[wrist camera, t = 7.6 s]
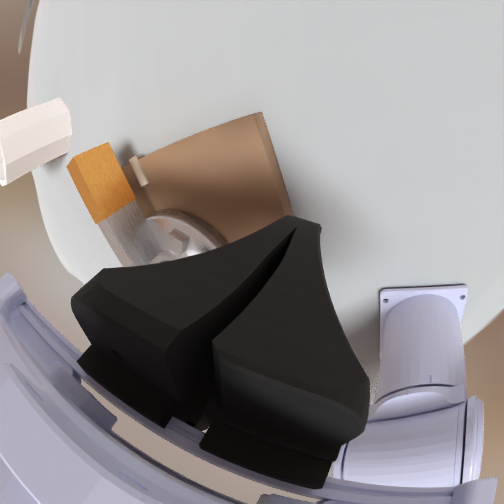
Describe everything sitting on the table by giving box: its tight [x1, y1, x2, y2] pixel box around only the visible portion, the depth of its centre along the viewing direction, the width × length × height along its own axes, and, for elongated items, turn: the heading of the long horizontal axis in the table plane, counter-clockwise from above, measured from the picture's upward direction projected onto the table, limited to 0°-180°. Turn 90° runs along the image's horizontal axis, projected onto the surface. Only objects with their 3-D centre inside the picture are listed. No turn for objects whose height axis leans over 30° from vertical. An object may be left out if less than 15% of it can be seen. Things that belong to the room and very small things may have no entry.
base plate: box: [121, 112, 293, 244], centre depth 26 cm, size 22×22×2 cm
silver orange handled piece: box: [67, 142, 227, 267], centre depth 22 cm, size 20×12×6 cm, turn 27°
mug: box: [0, 98, 72, 186], centre depth 22 cm, size 12×9×10 cm
